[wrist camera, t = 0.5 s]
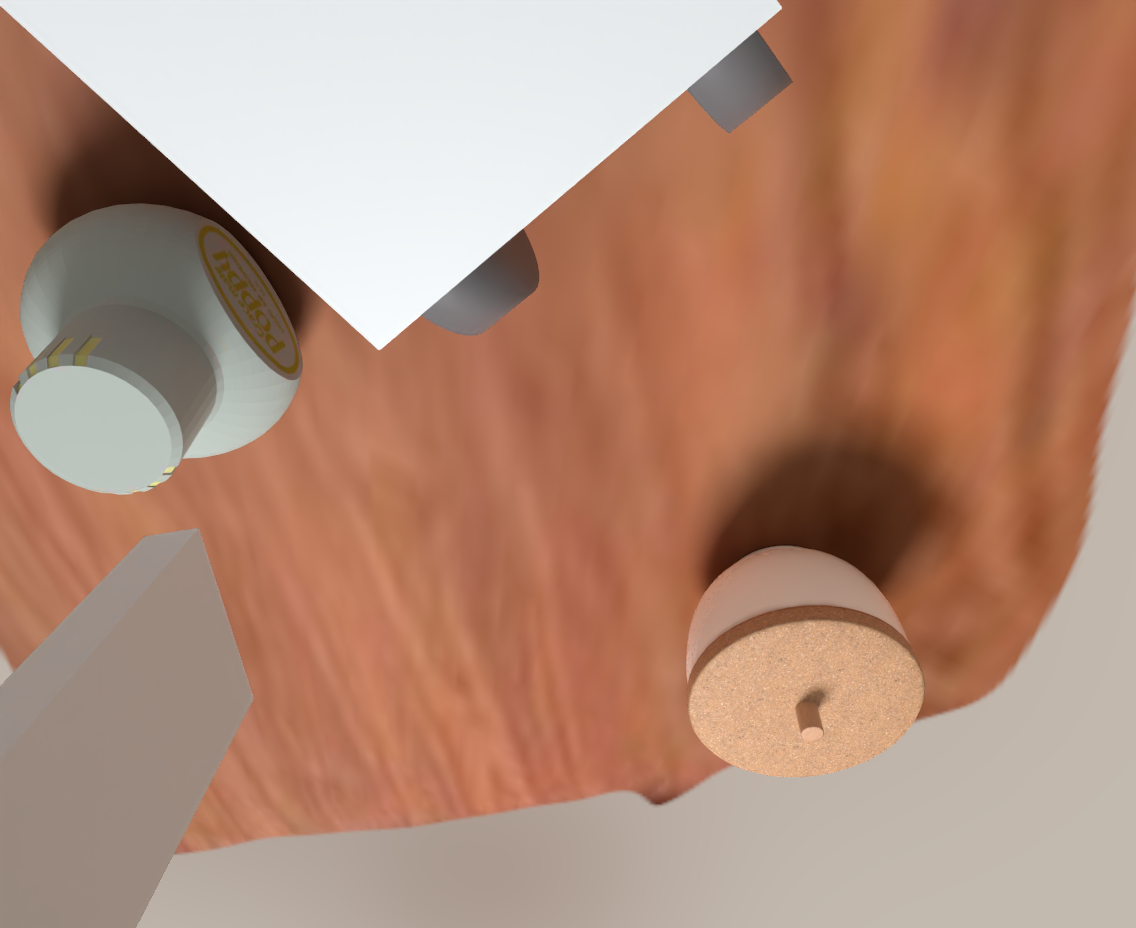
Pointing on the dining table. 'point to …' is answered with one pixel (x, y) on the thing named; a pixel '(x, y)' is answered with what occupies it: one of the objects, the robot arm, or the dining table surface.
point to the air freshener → (148, 348)
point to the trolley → (405, 122)
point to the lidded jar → (799, 665)
